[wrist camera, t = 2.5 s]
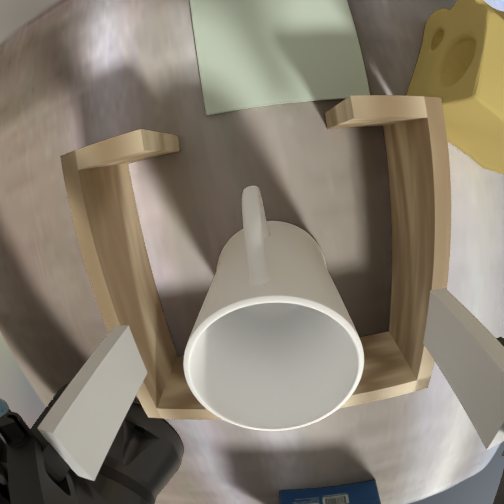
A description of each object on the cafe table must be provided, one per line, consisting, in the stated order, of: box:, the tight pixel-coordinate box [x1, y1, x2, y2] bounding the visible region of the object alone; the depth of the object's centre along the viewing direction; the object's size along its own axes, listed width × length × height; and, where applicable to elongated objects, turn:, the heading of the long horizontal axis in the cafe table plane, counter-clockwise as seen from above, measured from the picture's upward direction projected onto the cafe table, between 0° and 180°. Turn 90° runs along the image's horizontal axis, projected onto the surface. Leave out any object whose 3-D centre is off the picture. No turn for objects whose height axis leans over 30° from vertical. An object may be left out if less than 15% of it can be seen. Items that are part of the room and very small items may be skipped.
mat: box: [190, 0, 370, 116], centre depth 18 cm, size 12×12×1 cm
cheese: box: [406, 0, 504, 174], centre depth 14 cm, size 10×11×10 cm
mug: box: [183, 186, 364, 431], centre depth 18 cm, size 12×8×12 cm
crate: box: [60, 95, 451, 420], centre depth 20 cm, size 22×20×7 cm
